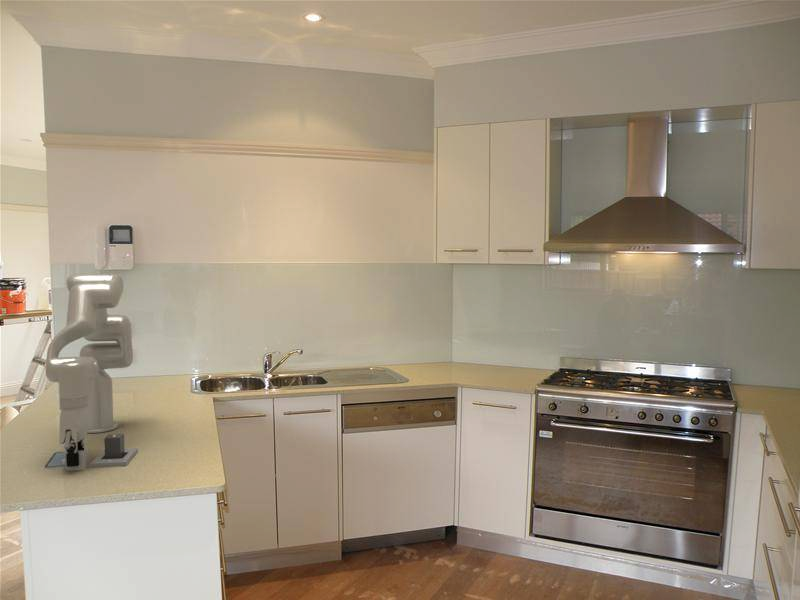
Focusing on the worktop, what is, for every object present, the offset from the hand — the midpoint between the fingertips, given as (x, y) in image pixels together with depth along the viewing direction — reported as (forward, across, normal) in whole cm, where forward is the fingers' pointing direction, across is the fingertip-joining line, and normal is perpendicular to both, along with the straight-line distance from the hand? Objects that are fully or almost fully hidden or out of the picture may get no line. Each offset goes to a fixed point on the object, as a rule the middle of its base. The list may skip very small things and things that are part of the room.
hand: (75, 462), depth 184 cm
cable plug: (+2, 0, 0) cm, 2 cm away
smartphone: (+2, -9, -7) cm, 12 cm away
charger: (+1, -7, +9) cm, 12 cm away
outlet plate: (+2, -7, +9) cm, 11 cm away
